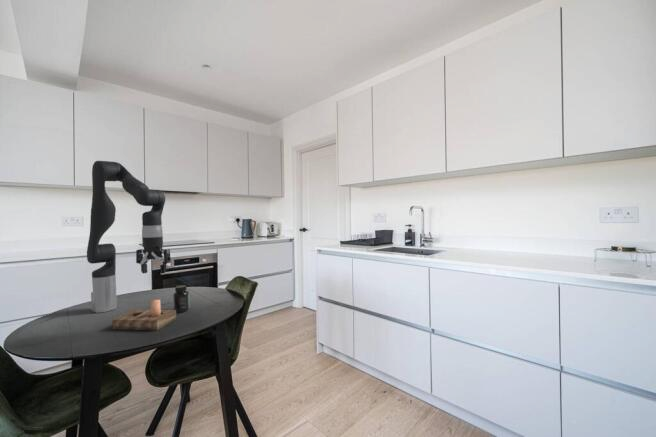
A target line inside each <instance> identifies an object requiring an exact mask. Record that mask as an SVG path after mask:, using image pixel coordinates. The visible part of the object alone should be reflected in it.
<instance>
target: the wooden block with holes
mask: <svg viewBox="0 0 656 437" xmlns="http://www.w3.org/2000/svg"><path fill="white" fill-rule="evenodd" d="M175 320H177V313H176V310H174V309H161V315H160V316H158V317H151V309H140V308H139V309H137V308H136V309H133V310H131V311H129V312H126V313H124V314H121V315H119V316H117V317H115V318H113V319H112V330H132V331H134V330H135V331H136V330H137V331H138V330H140V331H141V330H142V331H144V330H145V331H159V330H161V328H163V327H165V326H167V325H168V324H170V323H172V322H174V321H175Z"/></svg>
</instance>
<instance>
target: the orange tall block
mask: <svg viewBox="0 0 656 437" xmlns="http://www.w3.org/2000/svg"><path fill="white" fill-rule="evenodd" d="M150 310H151V317H158V316H160V315H161V310H162V306H161V299H153V300H151V301H150Z"/></svg>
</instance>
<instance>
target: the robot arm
mask: <svg viewBox="0 0 656 437" xmlns="http://www.w3.org/2000/svg"><path fill="white" fill-rule="evenodd" d="M91 180H92V185H91V186H92V196H91V198H92V199H91V207H90V225H89V226H90V227H89V235H88V236H89V237H88V243H87V247H86V248H87V249H86V261H87V262H88V263H89V264H91V265H92V264H101V263H105V264H103V265H102V266H101V267H99V268H97V269H95V270H93V271H92V272H91V280H92V281H91V283H92V284H91V286H92V291H91V293H90V300H91V302H90V304H91V312H93V313H105V312H109V311H114V310H116V309H117V308H118V300H117V282H116V278H117V276H116V270H117V269H116V266H117V265H116V261H117V260H116V257H117V256H116V254H117V253H116V252H117V250H116V246H115V244H114V243H100V241H101V239H102V237H103V236H104V235H105V233H106V232H107V231H108V230H109V229H111V227H112V226H113V224H114V222H115V221H116V212H117V209H116V206H115V204H114V202H113V201H112V199H111V198H110V196H109V195H108V194H107V191H106V182H121V186H122V189H123V190H124V191H125V192H126V193H128V194H129V195H130V196H132V197H133V198H134V200H135V201H136V203H137V204H138V205H140V206H145V207H151V208H150V210H148V211H145V212H142V215H141V221H142V223H141V224H142V228H141V238H142V239H141V241H142V242H141V243H142V245H141V246H142V248H139V249H136V250H135V251H136V254H135V256H136V258H135V260H136V261H135V262H136V263H135V264H139V265H140V270H141V274H147V273H148V262H149V261H150V260H156V261H157V262H158V263H159V264H160V265H159V266H160V267H159V268H160V274H165V273H166V272H167V265H168V264H169V263H171V262H172V259H171V250H170V248H167V249H163V246H164V241H163V240H164V236H163V235H164V234H163V233H164V232H163V226H162V223H163V222H162V215H163V211H164V207H165V205H166V204H165V203H166V195H165V193H164V192H163V191H162V190H160V189H150V188H149V186H148V185H146V184H145V183H144V182H143V181H141V180H139V179H137V178H136V177H135V176H134V175H132V173H130V171H129V170H128V168H125V166H124V165H122V164H121V163H120V162H117V161H107V160H95V161H94V163H93V164H92V168H91Z"/></svg>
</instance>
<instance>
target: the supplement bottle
mask: <svg viewBox="0 0 656 437" xmlns="http://www.w3.org/2000/svg"><path fill="white" fill-rule="evenodd" d="M187 288H188V287H187V285H184V284H183V285H181V284H180V285H177V286H175V289H174V293H173V295H172V297H173V300H172V301H173V310H176V314H182V313H183V314H184V313H186V312H188V311H189V310H190V292H189V291H188V290H187Z"/></svg>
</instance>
